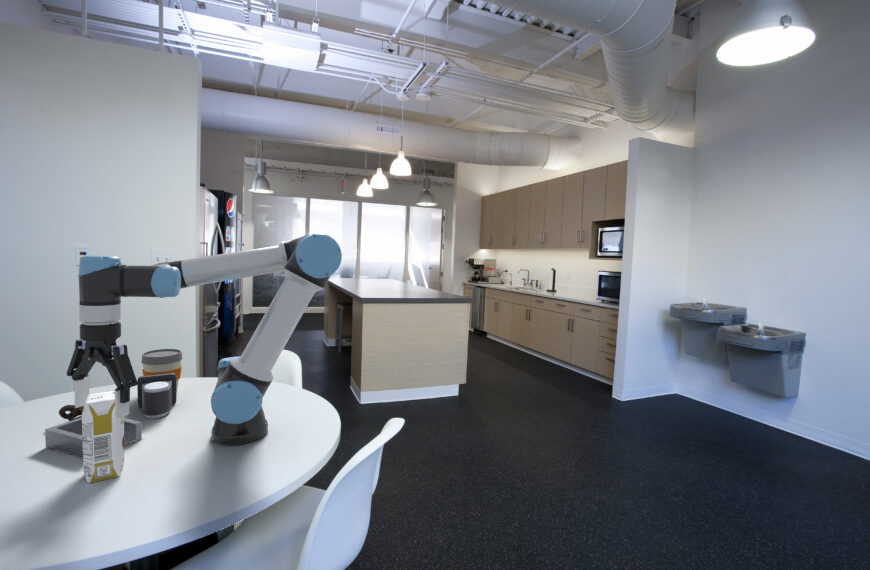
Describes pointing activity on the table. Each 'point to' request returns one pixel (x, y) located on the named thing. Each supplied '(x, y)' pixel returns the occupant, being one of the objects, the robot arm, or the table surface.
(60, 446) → the dock
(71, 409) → the brown ring with handle
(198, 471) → the table surface
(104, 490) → the table surface
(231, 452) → the table surface
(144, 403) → the wireless charger stand
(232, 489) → the table surface
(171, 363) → the reusable coffee cup
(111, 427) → the juice carton
